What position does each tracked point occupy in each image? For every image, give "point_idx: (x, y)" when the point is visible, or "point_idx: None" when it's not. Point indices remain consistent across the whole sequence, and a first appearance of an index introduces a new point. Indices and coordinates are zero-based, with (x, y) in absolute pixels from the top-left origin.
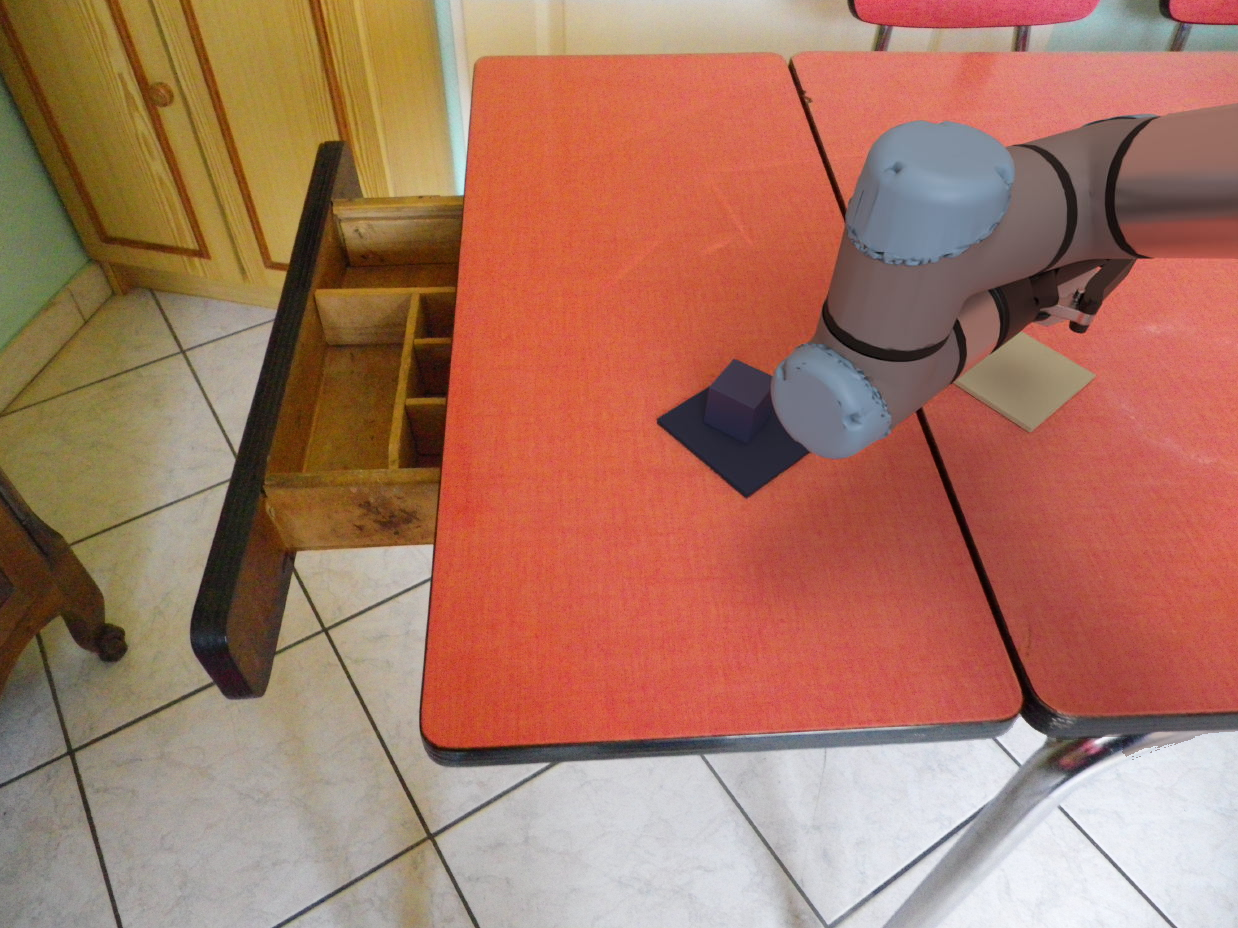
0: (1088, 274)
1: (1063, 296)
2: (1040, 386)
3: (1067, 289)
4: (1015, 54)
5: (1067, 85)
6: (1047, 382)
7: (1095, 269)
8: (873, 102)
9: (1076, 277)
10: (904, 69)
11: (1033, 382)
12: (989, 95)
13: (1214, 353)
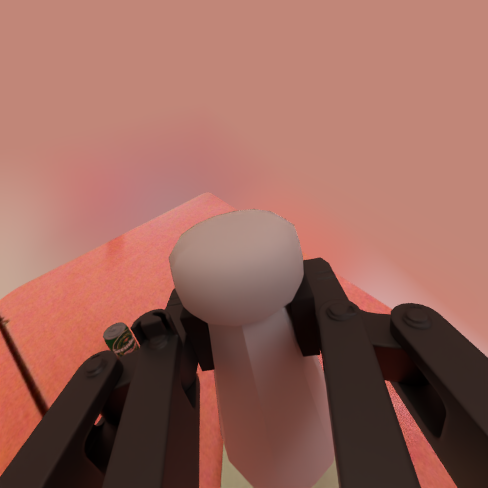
0: (322, 383)
1: (320, 445)
2: (336, 474)
3: (319, 435)
4: (132, 229)
5: (161, 227)
6: (334, 457)
7: (318, 363)
8: (58, 293)
9: (317, 411)
10: (76, 265)
11: (326, 475)
12: (128, 250)
13: (356, 294)
